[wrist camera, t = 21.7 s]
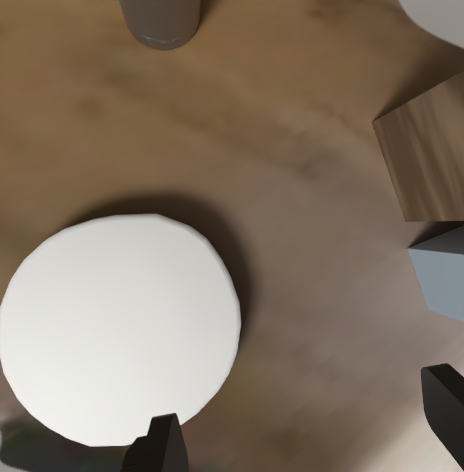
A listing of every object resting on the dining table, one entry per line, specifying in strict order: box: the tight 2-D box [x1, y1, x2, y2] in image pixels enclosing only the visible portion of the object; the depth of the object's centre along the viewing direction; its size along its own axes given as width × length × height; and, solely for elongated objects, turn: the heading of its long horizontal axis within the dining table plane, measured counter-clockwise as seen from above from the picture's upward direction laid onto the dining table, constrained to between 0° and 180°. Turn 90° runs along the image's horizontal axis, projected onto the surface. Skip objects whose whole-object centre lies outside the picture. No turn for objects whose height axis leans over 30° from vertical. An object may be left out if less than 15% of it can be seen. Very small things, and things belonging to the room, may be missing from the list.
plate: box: [0, 214, 241, 446], centre depth 42 cm, size 28×6×27 cm
